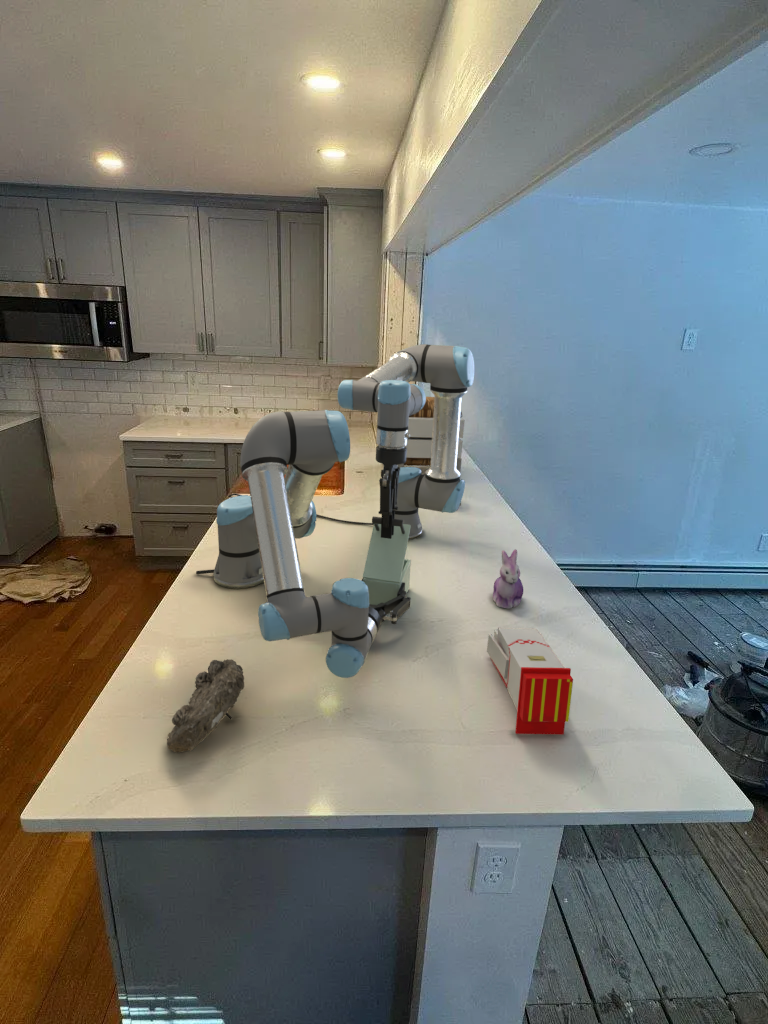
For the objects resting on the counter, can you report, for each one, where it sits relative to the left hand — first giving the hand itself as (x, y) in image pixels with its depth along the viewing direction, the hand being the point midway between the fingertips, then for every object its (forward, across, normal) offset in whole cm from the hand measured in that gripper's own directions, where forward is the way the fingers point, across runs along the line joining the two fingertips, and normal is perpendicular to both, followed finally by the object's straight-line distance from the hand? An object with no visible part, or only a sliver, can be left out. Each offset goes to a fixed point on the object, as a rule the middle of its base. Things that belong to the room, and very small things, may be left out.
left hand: (383, 584), depth 149 cm
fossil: (-52, -21, -6) cm, 56 cm away
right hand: (+1, 0, +14) cm, 14 cm away
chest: (+4, 0, -6) cm, 7 cm away
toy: (-26, +36, -7) cm, 45 cm away
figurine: (+13, +32, -6) cm, 35 cm away
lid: (+2, 0, +8) cm, 9 cm away
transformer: (+132, -13, -6) cm, 133 cm away
